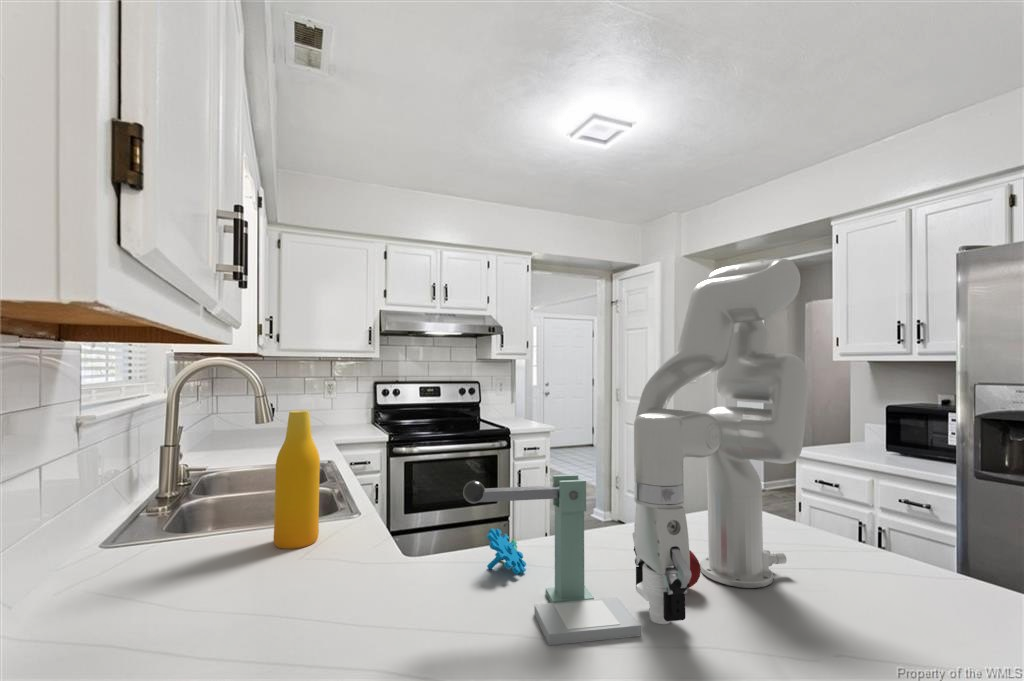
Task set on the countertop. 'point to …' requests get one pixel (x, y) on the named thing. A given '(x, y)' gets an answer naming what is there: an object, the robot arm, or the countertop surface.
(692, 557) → the onion
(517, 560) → the gear
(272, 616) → the countertop surface
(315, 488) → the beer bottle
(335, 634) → the countertop surface
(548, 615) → the press
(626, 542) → the countertop surface
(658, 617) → the pipe fitting
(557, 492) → the lever
